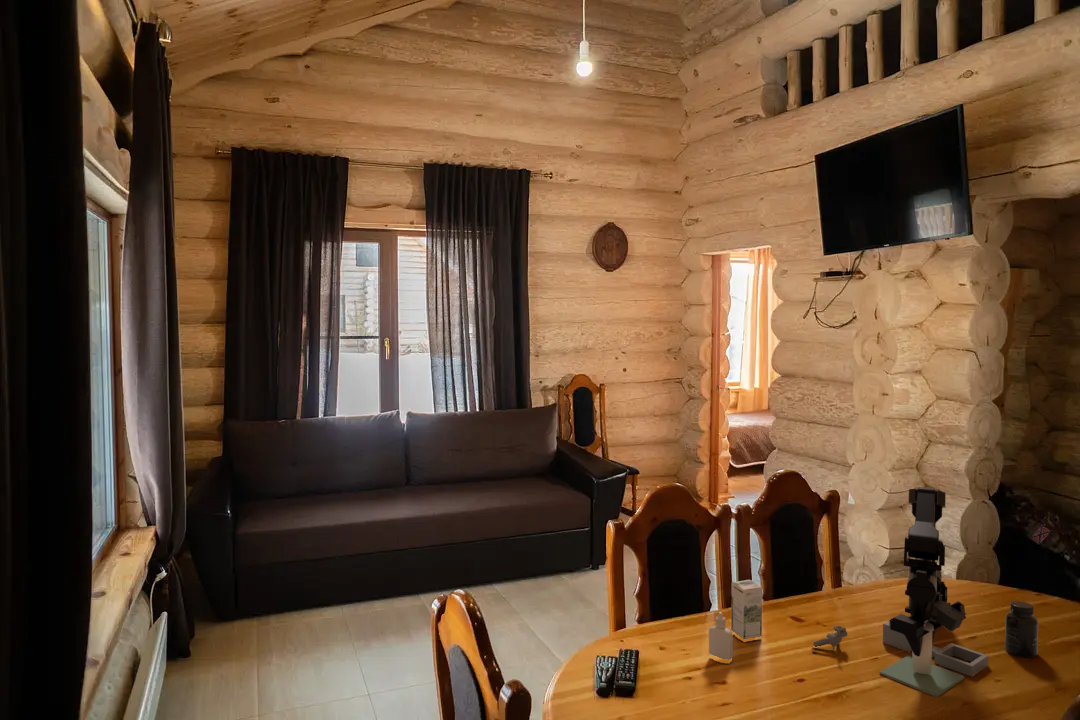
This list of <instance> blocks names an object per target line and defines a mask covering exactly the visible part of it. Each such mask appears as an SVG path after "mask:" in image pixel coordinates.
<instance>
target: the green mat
mask: <svg viewBox="0 0 1080 720" xmlns="http://www.w3.org/2000/svg"><path fill="white" fill-rule="evenodd" d="M880 674H882V675H881V676H883V675H884V676H883V677H885V676H886V678H888V679H890V678H891V680H893V681H895V680H896V681H895V682H898V683H900V684H903V685H905V684H906V686H908V687H910V688H913V689H916V690H918V691H920V692H923V693H925V694H928V695H931V696H933V697H935V698H937V697H939V696H940V695H942V694H943V693H945V692H947V691H948V690H949V689H951V688H953V687H955V685H957V684H958V683H960V682H961V681H963V680H964V679H965V676H964V675H962V674H960V673H957V672H954V671H953V670H948V669H946V668H943V667H941V666H939V665H935V664H933V663H932V672H931V673H930V674H921V673H918V672H915V671H914V670H913V669H912V656H911V655H906V656H904V657H903V658H901V659H899V660H897V661H896V662H894V663H892V664H890V665H888V666H887V667H884V669H882V670H880V671H879V675H880Z"/></svg>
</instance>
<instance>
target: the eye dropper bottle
mask: <svg viewBox="0 0 1080 720" xmlns="http://www.w3.org/2000/svg"><path fill="white" fill-rule="evenodd" d="M726 619H727V618H726V617H725V616H723V612H720V611H719V612H718V616H716V617H715V625H713V626H711V627H709V629H708V654H709V653H710V654H712V655H714V656H717V657H719V658H722V659H728V660H729V659H731V658H732V657H733V658H734V655H733V654H734V653H733V648H734V647H733V646H734V645H733V641H734V639H733V637H734V636H733V635H732V632H731V630H730V628H728V627H727V624H726V622H727V621H726Z"/></svg>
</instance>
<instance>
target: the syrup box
mask: <svg viewBox="0 0 1080 720" xmlns="http://www.w3.org/2000/svg"><path fill="white" fill-rule="evenodd" d="M730 589H731V594H730V595H731V602H730V603H731V605H730V607H731V609H730V611H731V614H730V615H731V618H730V619H731V621H730V627H731V630H732V631H733V632H735V633H736V634H737V635H739V636H740V637H741V638H743V639H748V638H755V637H760V636H762V637H763V634H762V633H763V629H762V628H763V626H762V625H763V587H762V586H761V585H760V584H758V582H755V581H753V580H751V579H745V580H740V581H734V582H733V581H732V582H731V588H730ZM731 630H730V631H731Z"/></svg>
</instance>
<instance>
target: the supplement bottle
mask: <svg viewBox="0 0 1080 720" xmlns="http://www.w3.org/2000/svg"><path fill="white" fill-rule="evenodd" d="M1034 609H1035V608H1034V605H1033V604H1031V603H1029V602H1025V601H1020V600H1012V601H1011V602H1010V606H1009V612H1007V613H1006V615H1005V619H1004V621H1005V622H1004V625H1005V627H1004V629H1005V630H1004V632H1005V633H1004V648H1005V650H1006V651H1007V652H1008V653H1010V654H1011V655H1014V656H1017V657H1022V658H1034V657H1036V656H1037V655H1038V652H1039V650H1038V648H1039V647H1038V646H1039V645H1038V644H1039V620H1038V618H1037V617H1035V615H1034V614H1035V610H1034Z"/></svg>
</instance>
